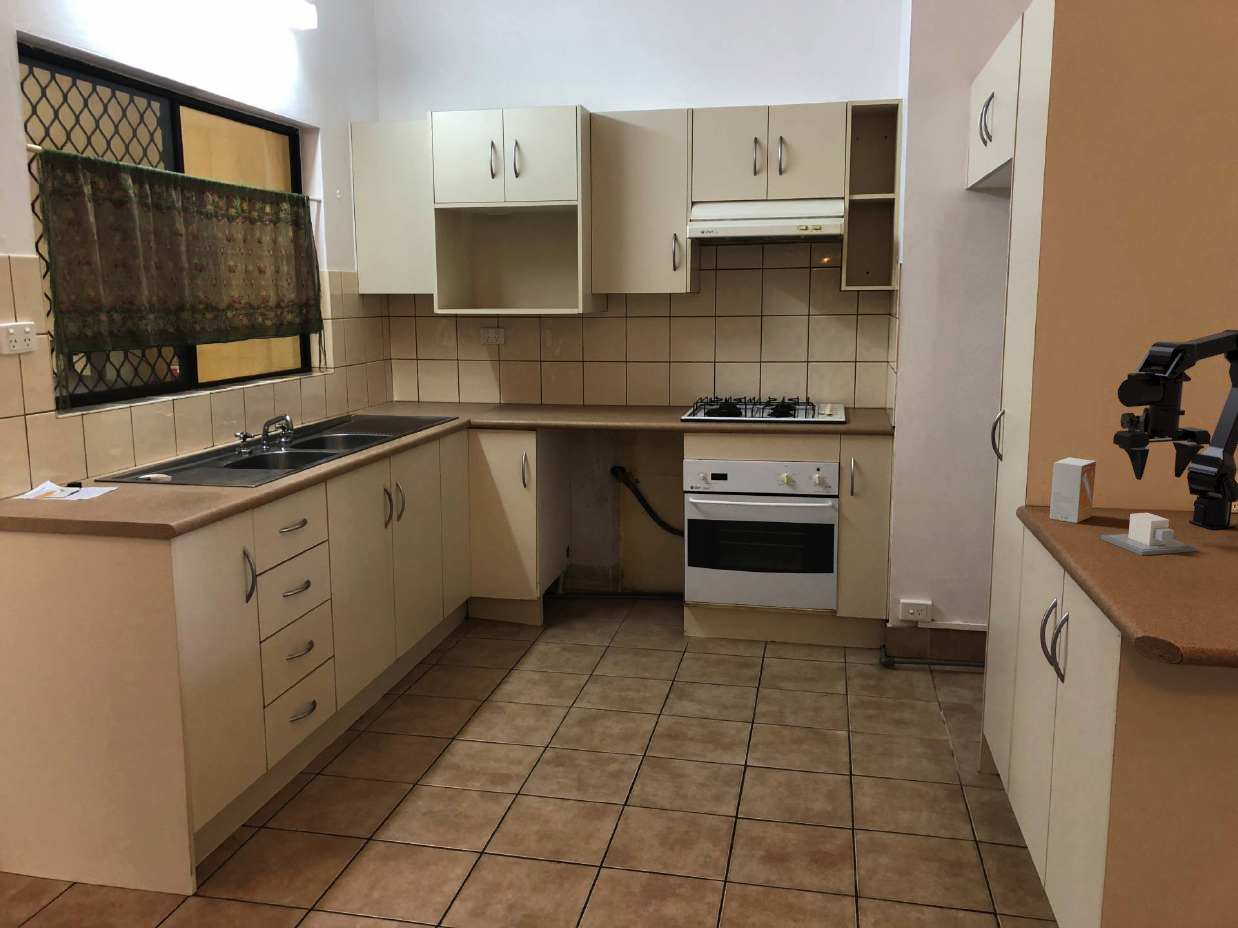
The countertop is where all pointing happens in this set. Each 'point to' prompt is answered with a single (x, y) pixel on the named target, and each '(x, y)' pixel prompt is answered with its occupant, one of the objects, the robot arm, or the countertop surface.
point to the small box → (1072, 489)
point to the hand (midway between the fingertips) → (1158, 478)
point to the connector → (1149, 529)
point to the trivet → (1146, 549)
